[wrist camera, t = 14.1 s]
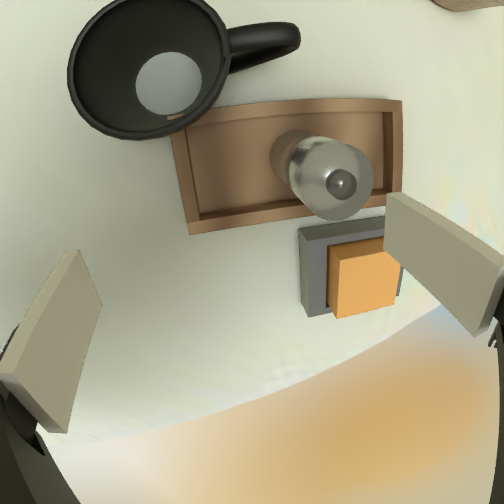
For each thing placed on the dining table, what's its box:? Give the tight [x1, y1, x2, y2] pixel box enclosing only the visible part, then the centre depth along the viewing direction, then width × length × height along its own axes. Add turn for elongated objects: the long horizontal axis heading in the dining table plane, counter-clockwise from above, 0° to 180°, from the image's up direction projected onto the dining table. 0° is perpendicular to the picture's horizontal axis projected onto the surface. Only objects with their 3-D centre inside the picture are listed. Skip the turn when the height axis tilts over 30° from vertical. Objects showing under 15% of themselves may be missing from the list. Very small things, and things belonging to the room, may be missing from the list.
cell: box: [270, 130, 374, 220], centre depth 19 cm, size 4×4×9 cm
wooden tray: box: [167, 98, 403, 235], centre depth 22 cm, size 18×9×2 cm, turn 96°
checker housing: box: [299, 216, 404, 317], centre depth 28 cm, size 10×8×2 cm
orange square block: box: [326, 236, 401, 319], centre depth 26 cm, size 6×6×3 cm
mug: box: [67, 0, 301, 141], centre depth 16 cm, size 8×12×10 cm
